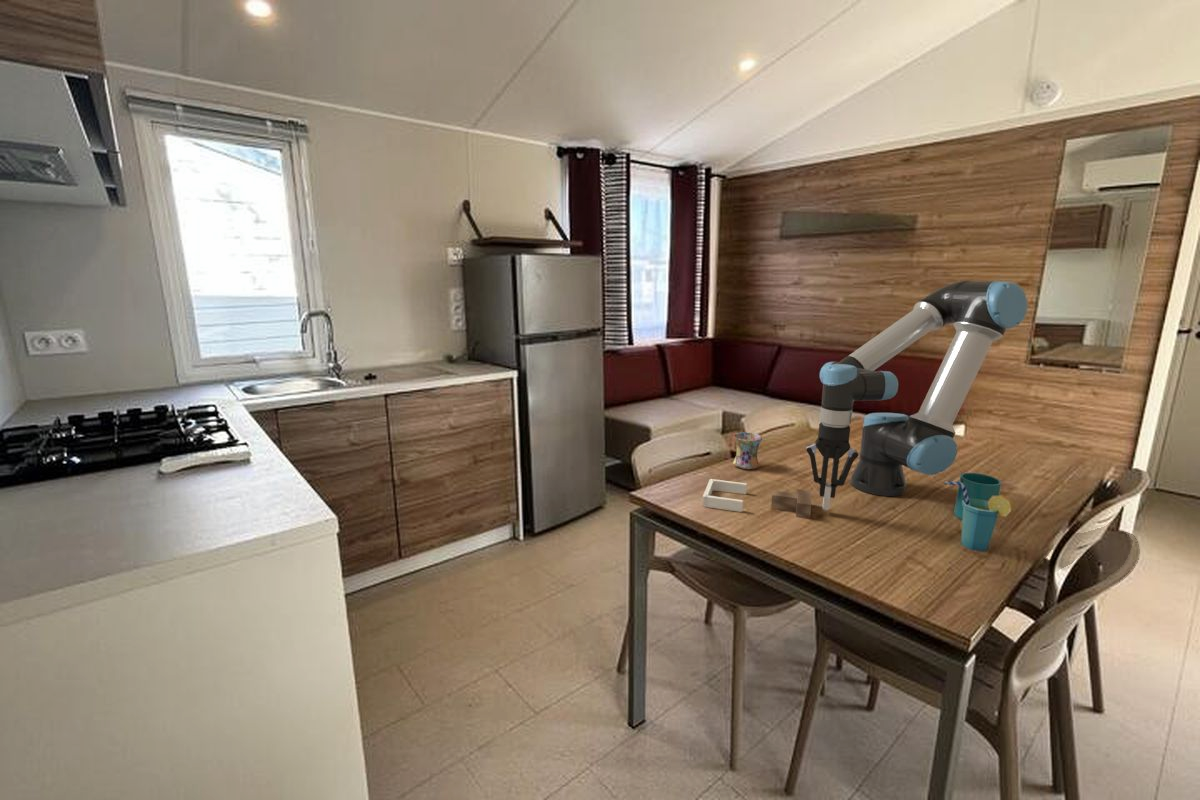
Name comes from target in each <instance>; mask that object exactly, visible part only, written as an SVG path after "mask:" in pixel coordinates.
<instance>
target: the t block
mask: <svg viewBox="0 0 1200 800" xmlns="http://www.w3.org/2000/svg"><path fill="white" fill-rule="evenodd" d="M770 509H771V510H772V509H773V510H778V511H786V512H793V513H795V517H796V518H803V519H810V520H811V512H812V511H811V510H812V495H811V490H806V489H805V490H804V489H796V493H795V492H788V491H780V490H772V494H771V507H770Z"/></svg>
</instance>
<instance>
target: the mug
mask: <svg viewBox="0 0 1200 800" xmlns="http://www.w3.org/2000/svg"><path fill="white" fill-rule="evenodd" d="M733 439H734V442H735V445H736V453H735V454H736V455H735V458H734V460H733V462H732V464H733V466H735V467H737V468H740V469H743V470H754V469H758V468H759V466H760V463H759V460H758V450H759V446H760V444H761V442H762V440H763V436H762V435H761V434H757V433H754V432H753V433H752V432H744V431H743V432H736V433H734V434H733Z"/></svg>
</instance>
